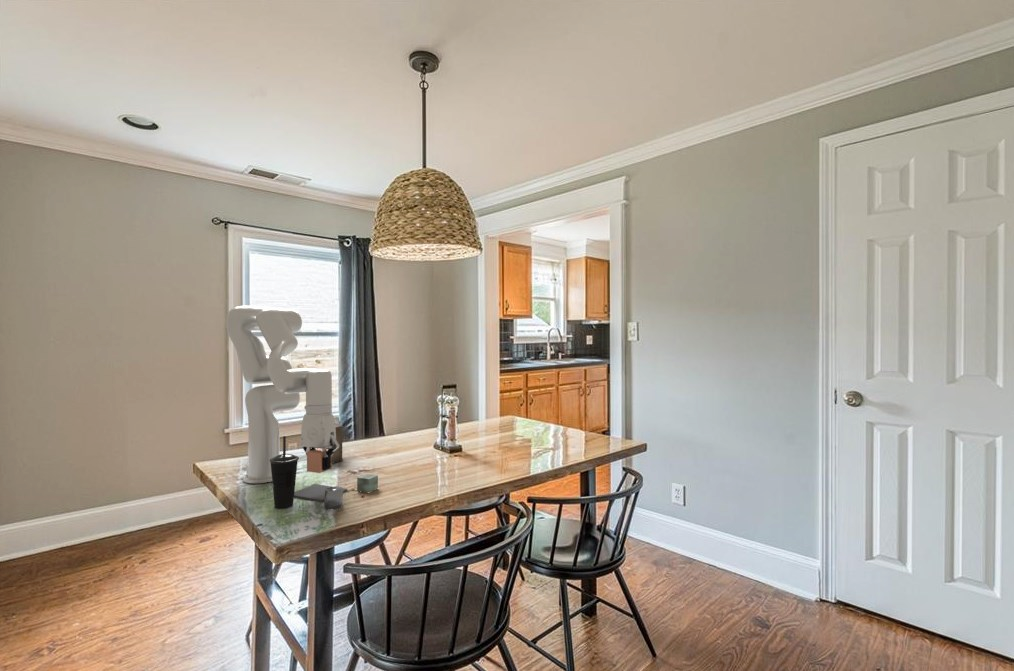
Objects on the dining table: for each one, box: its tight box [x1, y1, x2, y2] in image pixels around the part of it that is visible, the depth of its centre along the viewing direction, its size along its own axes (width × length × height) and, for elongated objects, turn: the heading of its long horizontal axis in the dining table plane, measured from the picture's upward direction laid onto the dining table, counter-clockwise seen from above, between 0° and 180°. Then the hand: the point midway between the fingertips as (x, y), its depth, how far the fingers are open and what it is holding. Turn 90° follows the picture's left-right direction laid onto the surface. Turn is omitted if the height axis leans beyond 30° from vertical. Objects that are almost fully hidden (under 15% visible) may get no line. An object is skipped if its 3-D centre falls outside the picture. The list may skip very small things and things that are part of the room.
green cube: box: [356, 473, 379, 493], centre depth 154 cm, size 4×4×4 cm
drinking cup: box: [270, 435, 300, 510], centre depth 139 cm, size 8×8×20 cm
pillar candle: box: [316, 422, 344, 464], centre depth 188 cm, size 10×10×15 cm
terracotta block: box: [306, 448, 332, 474], centre depth 150 cm, size 5×5×6 cm
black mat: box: [294, 483, 348, 503], centre depth 150 cm, size 13×11×1 cm
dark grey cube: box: [323, 485, 344, 510], centre depth 139 cm, size 5×5×5 cm
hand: (319, 467), depth 150 cm, fingers closed on terracotta block, 5 cm apart
